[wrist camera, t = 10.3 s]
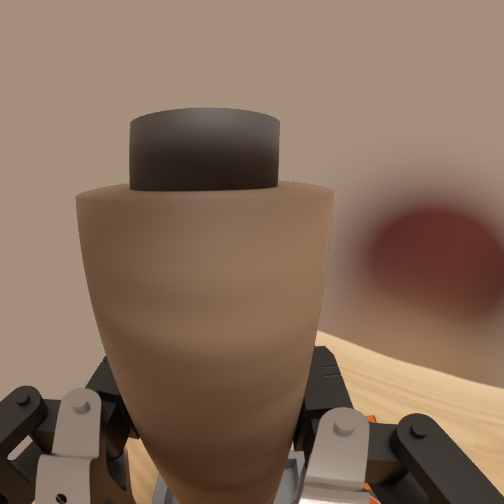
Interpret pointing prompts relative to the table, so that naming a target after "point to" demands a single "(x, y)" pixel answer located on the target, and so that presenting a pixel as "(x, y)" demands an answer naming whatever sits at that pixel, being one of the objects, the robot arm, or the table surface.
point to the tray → (165, 499)
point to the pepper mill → (208, 297)
